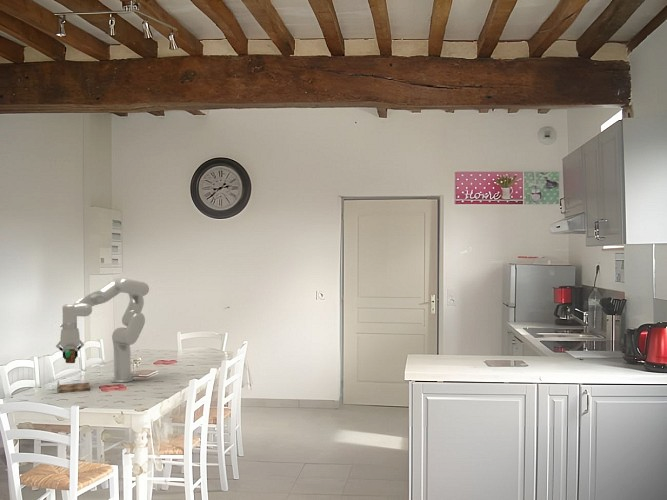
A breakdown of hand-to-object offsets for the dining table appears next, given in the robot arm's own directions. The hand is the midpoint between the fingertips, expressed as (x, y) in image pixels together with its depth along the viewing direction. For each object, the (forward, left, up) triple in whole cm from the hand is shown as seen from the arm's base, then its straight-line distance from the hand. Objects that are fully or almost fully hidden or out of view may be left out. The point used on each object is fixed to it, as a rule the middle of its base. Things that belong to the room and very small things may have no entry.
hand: (70, 358), depth 393 cm
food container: (+1, 0, -2) cm, 2 cm away
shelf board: (-2, +1, -17) cm, 17 cm away
